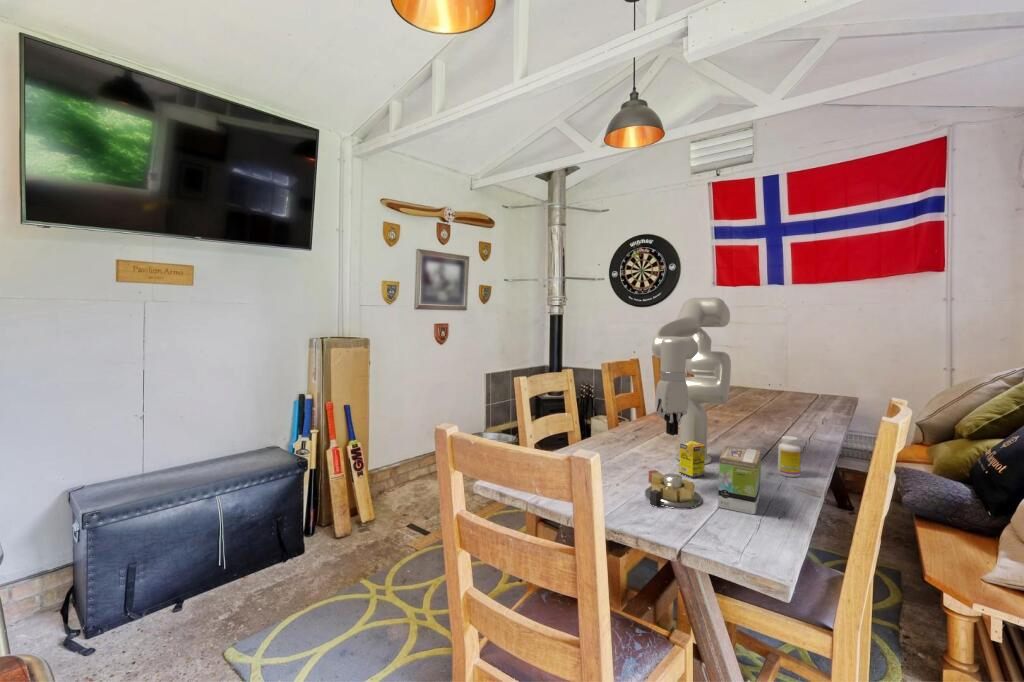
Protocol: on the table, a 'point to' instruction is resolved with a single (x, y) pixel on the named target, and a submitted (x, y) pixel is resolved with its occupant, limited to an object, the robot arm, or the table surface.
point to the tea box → (739, 479)
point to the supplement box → (692, 459)
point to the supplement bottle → (789, 457)
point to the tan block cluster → (671, 488)
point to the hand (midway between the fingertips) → (672, 433)
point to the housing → (657, 500)
